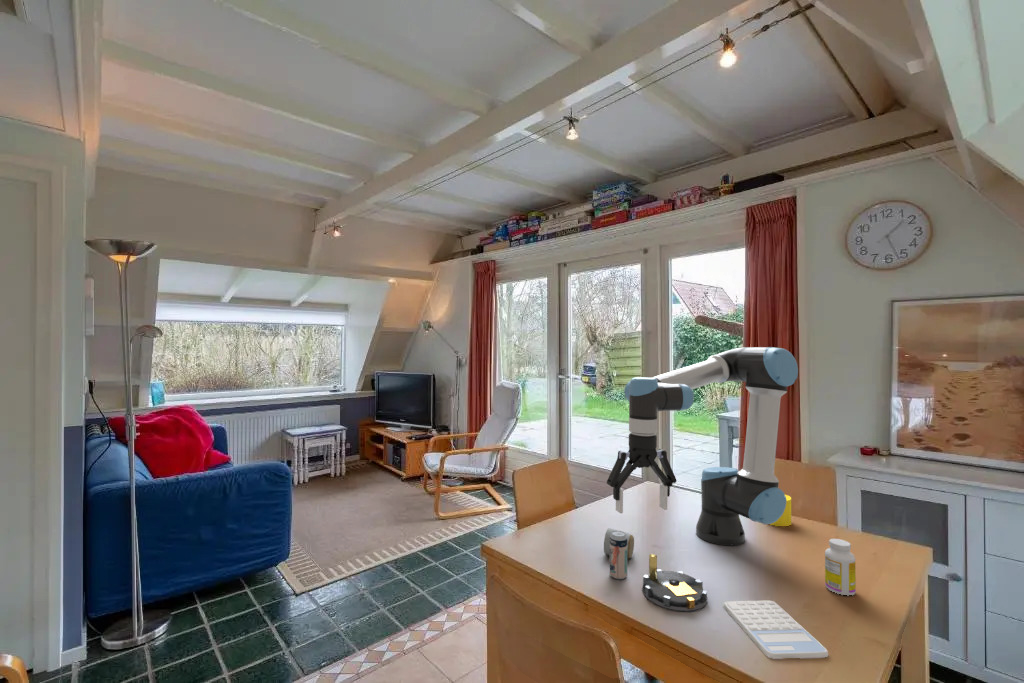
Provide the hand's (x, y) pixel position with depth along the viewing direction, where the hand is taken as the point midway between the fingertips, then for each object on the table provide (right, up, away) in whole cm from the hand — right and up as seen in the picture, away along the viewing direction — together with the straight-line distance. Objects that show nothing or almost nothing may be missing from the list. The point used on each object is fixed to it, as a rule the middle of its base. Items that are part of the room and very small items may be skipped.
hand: (641, 509), depth 129 cm
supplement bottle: (+51, -20, -5) cm, 55 cm away
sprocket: (+6, -19, -7) cm, 22 cm away
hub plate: (+6, -19, -7) cm, 22 cm away
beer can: (-6, -20, +2) cm, 21 cm away
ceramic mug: (-3, -20, +16) cm, 25 cm away
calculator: (+24, -20, -22) cm, 38 cm away
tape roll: (+61, -20, +42) cm, 77 cm away
